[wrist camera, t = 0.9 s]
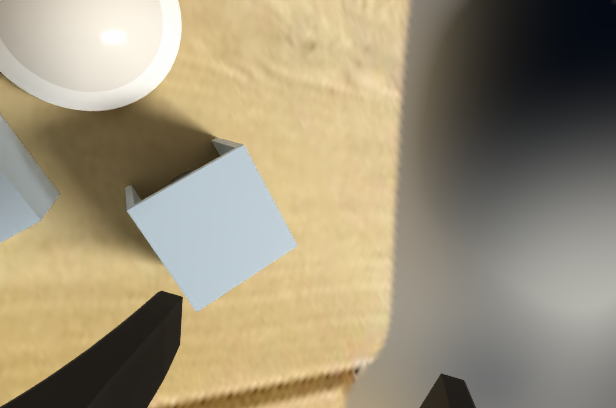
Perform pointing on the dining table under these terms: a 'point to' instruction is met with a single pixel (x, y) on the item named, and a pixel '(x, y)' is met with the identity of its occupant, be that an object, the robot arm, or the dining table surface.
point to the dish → (88, 49)
